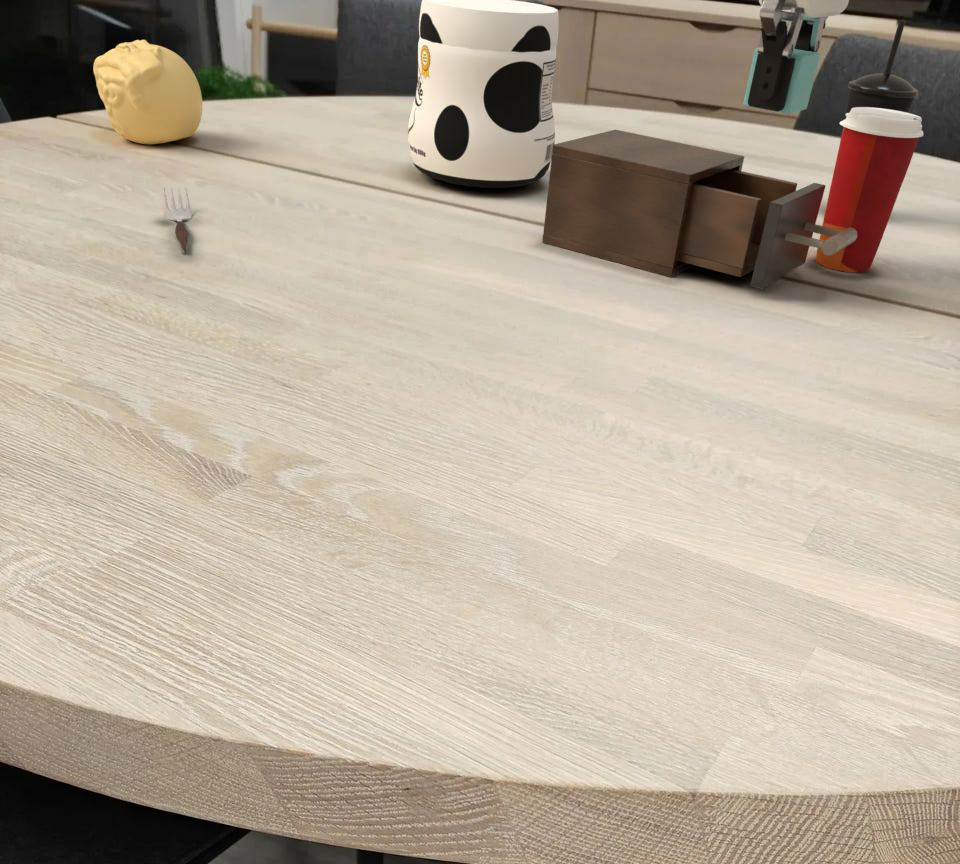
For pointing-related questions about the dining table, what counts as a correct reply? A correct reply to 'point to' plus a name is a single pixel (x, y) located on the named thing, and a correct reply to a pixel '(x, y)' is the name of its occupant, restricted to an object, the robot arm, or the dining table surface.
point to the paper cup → (867, 181)
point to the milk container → (484, 92)
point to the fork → (179, 218)
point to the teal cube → (794, 80)
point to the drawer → (755, 226)
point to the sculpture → (148, 92)
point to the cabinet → (626, 196)
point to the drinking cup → (882, 86)
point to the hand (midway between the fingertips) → (776, 103)
